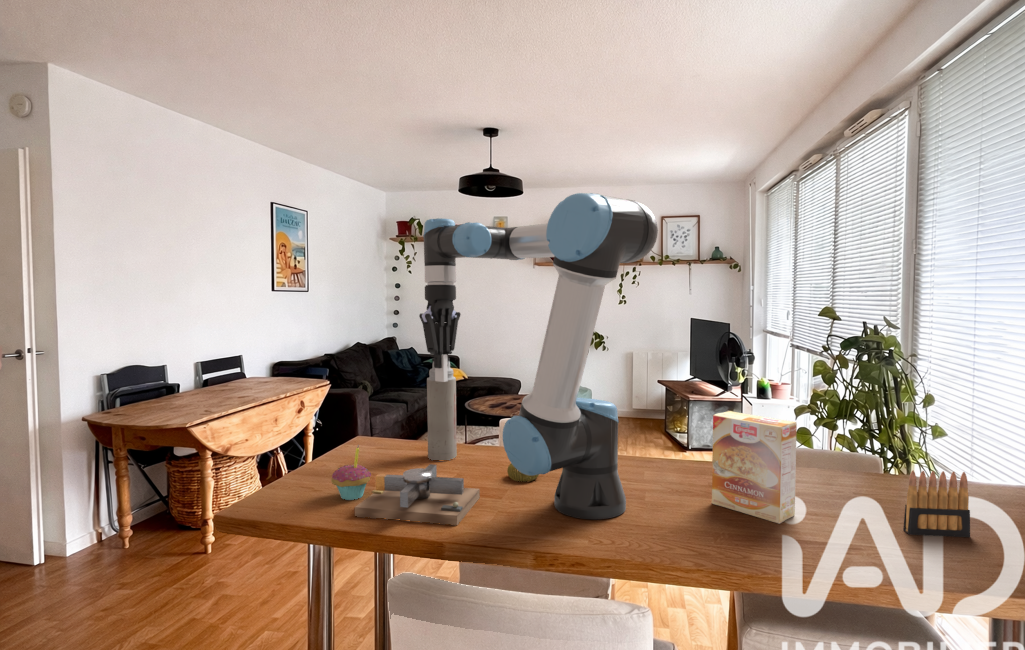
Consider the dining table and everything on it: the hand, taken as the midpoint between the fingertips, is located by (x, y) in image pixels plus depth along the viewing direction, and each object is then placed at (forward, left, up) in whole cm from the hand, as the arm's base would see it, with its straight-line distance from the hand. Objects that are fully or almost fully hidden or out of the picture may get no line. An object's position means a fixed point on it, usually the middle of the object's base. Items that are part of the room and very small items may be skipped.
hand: (441, 381), depth 141 cm
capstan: (-9, +16, -22) cm, 29 cm away
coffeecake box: (-66, -25, -25) cm, 75 cm away
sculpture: (-15, -13, -25) cm, 32 cm away
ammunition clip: (-97, -33, -25) cm, 105 cm away
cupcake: (+8, +21, -25) cm, 33 cm away
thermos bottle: (+14, -14, -25) cm, 32 cm away
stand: (-9, +16, -24) cm, 31 cm away
